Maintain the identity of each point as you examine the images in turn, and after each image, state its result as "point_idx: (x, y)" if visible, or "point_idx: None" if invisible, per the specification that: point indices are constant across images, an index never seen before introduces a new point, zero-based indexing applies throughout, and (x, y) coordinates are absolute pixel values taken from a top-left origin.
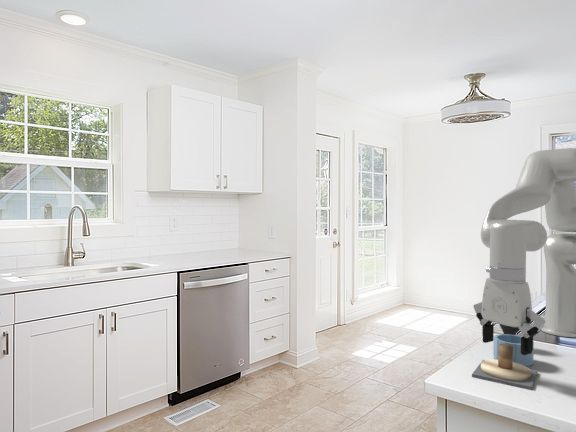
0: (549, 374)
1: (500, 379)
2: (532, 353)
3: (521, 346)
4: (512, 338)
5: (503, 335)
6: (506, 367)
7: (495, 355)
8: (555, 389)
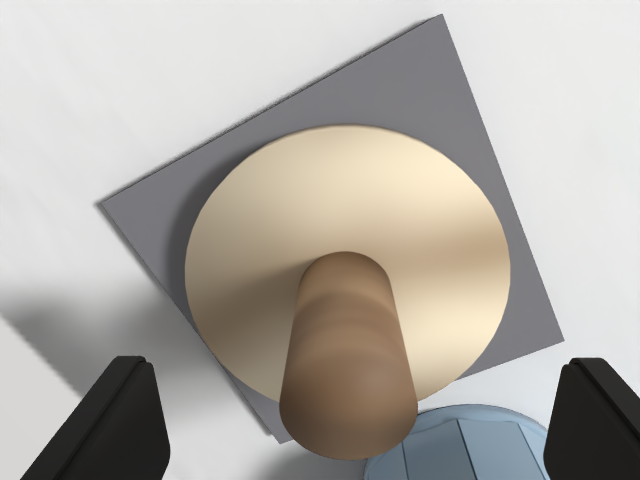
0: (246, 461)
1: (266, 129)
2: None
3: (98, 411)
4: None
5: None
6: (310, 268)
7: (539, 440)
8: (83, 319)
